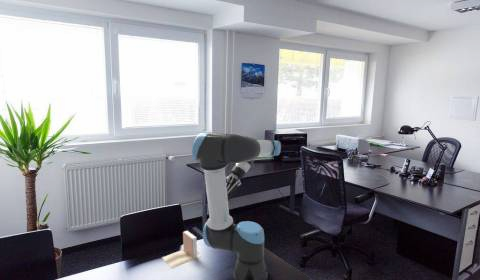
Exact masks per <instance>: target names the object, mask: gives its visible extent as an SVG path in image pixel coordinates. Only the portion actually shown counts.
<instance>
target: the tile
mask: <svg viewBox="0 0 480 280" xmlns="http://www.w3.org/2000/svg"><path fill="white" fill-rule="evenodd" d="M197 238H198V237H197V236H195V235H194V234H193V233H191V232H190V231H189V230H185V231H183V232H182V241H183V243H182V244H183V249H184V251H185V252H186V253H187V254H188V255H189V256H191V257H192V258H195V257H197V252H198V246H197V242H198V241H197Z"/></svg>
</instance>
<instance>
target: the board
mask: <svg viewBox="0 0 480 280" xmlns="http://www.w3.org/2000/svg"><path fill="white" fill-rule="evenodd" d="M202 256H203V255H202V253H201V254H200V253H199V252H198V251H197V257H195V258H192V257H191V256H189V255H188V254H187V253H186V252H185V251H184V248H183V249H181V250H178V251H176V252H173V253H170V254H168V255H166V256H165V255H164V256H162V257H161V259H162V260H163V261H164V262H165V263H166V264H168V266H169V267H171V269H174V268H176V267H178V266H182V265H184V264H187V263H189V262H190V261H193V260H196V259H198V258H200V257H202Z"/></svg>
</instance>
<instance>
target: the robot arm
mask: <svg viewBox="0 0 480 280" xmlns="http://www.w3.org/2000/svg"><path fill="white" fill-rule="evenodd" d="M281 144H282V143H281V142H280V141H279V140H273V139H272V140H270V139H256V138H254V137H251V136H248V135H246V134H242V135H241V134H237V133H236V134H235V133H221V132H210V131H209V132H201V133H199V134H197V136H196V137H195V139H194V141H193V144H192V149H191V155H192V158H193V160H194V161H196V162H199V163H198V164H199V169H200V170H202V171H203V173H204V174H203V175H204V183H205V191H206V198H207V206H208V208H207V209H208V213H209V215H208V216H209V218H208V219H207V220H206V222H205V224H204V226H203V229H202V231H203V232H202V240H203V243H204V244H205V246H207V247H208V248H212V249H215V250H221V251H226V252H230V253H236V254H237V257H236V258H237V259H236V261H235V264H234V265H235V266H234V267H233V271H232V273H233V279H234V280H268V278H269V277H268V273H269V272H268V267H267V265H266V261H265V231H264V228H263V227H262V226H261V225H260V224H259V223H257V222H254V221H249V220H246V221H240V222H238V223H237V224H235V223H234V219H233V217H232V216H231V215H230V211H229V199H228V198H230V197H231V196H232V195H233V194H234V193H235V192H236V191H237V189H239V187H241V186H242V183H241V180H242V179H244V177H245V176H246V173H247V172H249V169H250V168H251V166H252V165H253V164H254V162H255V161H256V159H257V158H259V157H264V156H265V157H266V156H279V155H280V154H281V149H282V145H281ZM229 164H230V165H234V164H235V165H234V166H233V167H232V169H231V170H230V172H231V173H230V174H229V175H228V176H226V168H227V167H228V165H229Z"/></svg>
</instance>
